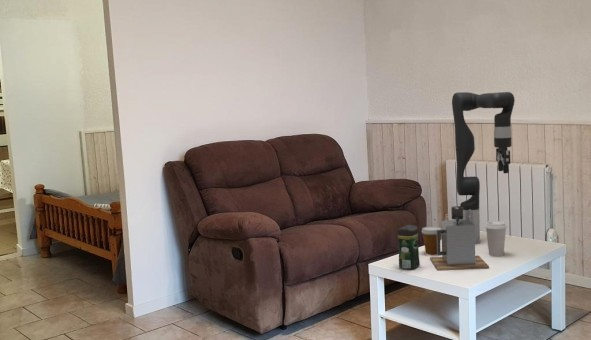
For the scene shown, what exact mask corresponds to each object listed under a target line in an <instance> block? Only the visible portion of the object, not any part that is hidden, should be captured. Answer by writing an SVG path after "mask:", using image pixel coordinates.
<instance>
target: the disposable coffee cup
mask: <svg viewBox="0 0 591 340" xmlns="http://www.w3.org/2000/svg"><path fill="white" fill-rule="evenodd" d="M421 229H422V230H421V233H422V237H423V243H424V250H425V251H424V252H425V254H426V255H429V256H434V255H436V256H438V255H437V233H436V230H441V227H439V226H425V227H422V228H421ZM440 242H442V233H440Z"/></svg>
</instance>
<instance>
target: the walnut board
mask: <svg viewBox="0 0 591 340" xmlns="http://www.w3.org/2000/svg"><path fill="white" fill-rule="evenodd" d="M429 260H430V262H431V263H432V266H434V268H435V270H436V271H453V270H454V271H458V270H484V269H490V266H489V264H488V263H487V262H486V261H485V260H484V259H482V257H481V256H480V255H475V265H456V266H447V265H446V263H445V262H444V260H443V259H442V256H433V257H429Z"/></svg>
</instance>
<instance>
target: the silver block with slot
mask: <svg viewBox="0 0 591 340" xmlns="http://www.w3.org/2000/svg"><path fill="white" fill-rule="evenodd" d="M440 226H441V227H440V228H441V230H436V233H437V255H436V256H441V257H442V259H443V260H444V262H445V263H446V265H447V266H456V265H475V256H476V244H475V224H473V223H472V222H471V221H470V220H469V219H466V220H461V219H460V220H459V223H456V220H455V219H448V220H447V219H446V220H440ZM440 233H441V241H440Z"/></svg>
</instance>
